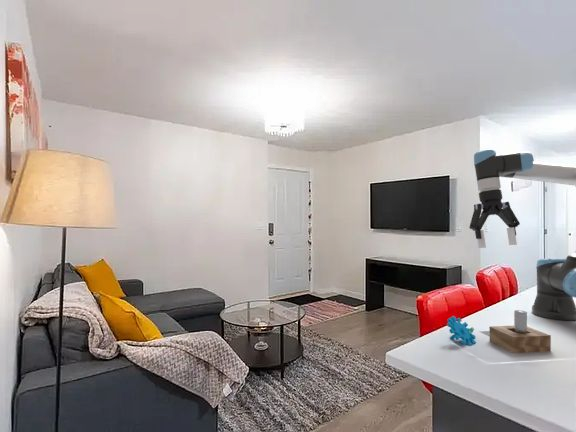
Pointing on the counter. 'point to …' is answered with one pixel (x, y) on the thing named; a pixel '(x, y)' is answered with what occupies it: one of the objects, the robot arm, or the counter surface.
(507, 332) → the hole block
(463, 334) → the gear
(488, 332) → the mat
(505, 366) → the counter surface
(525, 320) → the peg
